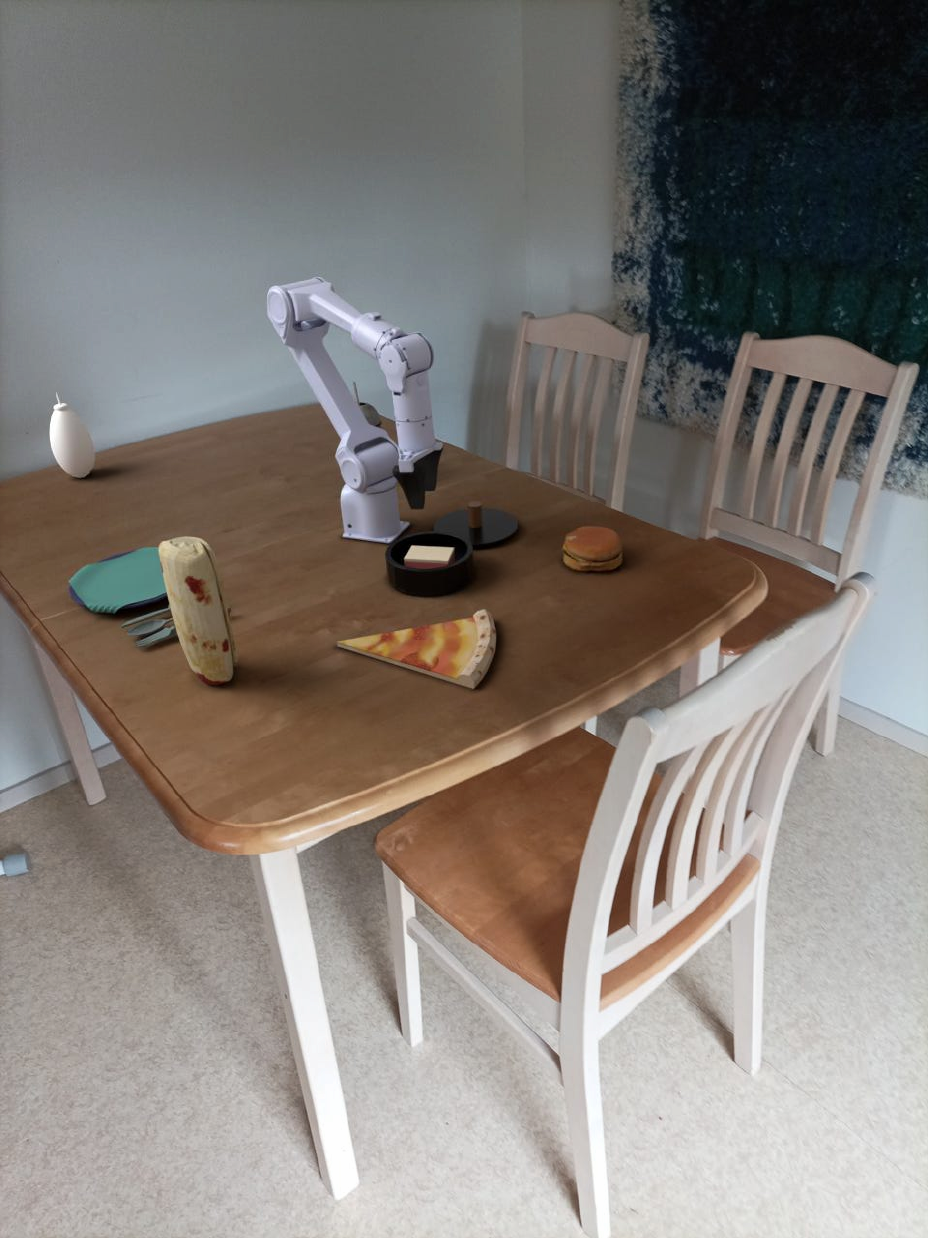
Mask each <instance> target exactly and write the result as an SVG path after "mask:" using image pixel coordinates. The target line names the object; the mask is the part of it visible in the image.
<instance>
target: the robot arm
mask: <svg viewBox="0 0 928 1238" xmlns="http://www.w3.org/2000/svg"><path fill="white" fill-rule="evenodd" d="M335 290H336V289H335V288H334V285H333V284H332V283H331V282H329V281H327V280H326V279H325V278H323V277H321V276H314V277H312V278H310V279H305V280H301V281H296V282H292V283H287V284H283V285H273V286H271V287H270V288H269V290H268V292H267V295H266V313H267V314H266V315H267V317H268V319H269V320H270V322H271V324H272V326H273V327H274V329H275V331H276V333H277V334H278V336H279V338H280V339H281V342H282V343H283V345H285V346H287V347H288V350H289V353H290V354H291V355H292V357H293V360H295V362H296V364H297V366H298V368H299V369H300V371H301V373H302V374H303V376H304V378H305V380H306V381H307V383H308V385H309V387H310V388H311V390H312V392H313V393H314V395H315V397H316V399H317V401H318V402H319V404H320V406H321V407H322V409H323V411H324V412H325V415H326V416H327V418H328V419H329V421H330V423H331V424H332V426H333V428H334V429H335V432H336V433H337V435H338V437H339V439H340V442H339V444H338V447H337V449H336V452H335V456H334V458H335V460H336V462H337V464H338V465H339V466H338V467H339V469H340V474H341V476H342V479H343V480H344V482H345V484H344V486H342V489H341V492H340V509H341V516H342V523H343V524H342V525H343V533H342V537H343V538H345V539H353V540H354V539H355V540H361V541H367V542H374V543H383V544H391V543H392V542H394V541H396V540H397V539H398V537H399V536H400V535H402V533H403V532H405V530H407V528H409V526H410V522H409V521H403V520H400V519H401V518H400V509H399V499H398V489H397V483H398V484H399V485H400V487H401V489H402V491H403V494H404V496H405V499H406V501H407V504H408V506H409V508H410V510H424V509H425V504H426V492H435V491H436V488H437V483H438V482H437V480H438V473H439V472H438V470H439V465H440V464H439V463H440V459H441V456H442V455H443V454H442V453H443V451H444V444H443V441H437V440H436V437H435V429H434V420H433V410H432V402H431V392H430V384H429V374H428V373H429V372H428V371H429V370H430V369H431V368H432V367H433V364H434V362H435V352H434V348H433V344H432V343H431V341H430V340H429V339H428V337H427V336H426V335H424V334H423V333H422V332H421V331H414V332H411V333H410V332H405V331H403V329H402V328H400V327H399V326H396V325H394V324H392V323H391V322H389V321H387V320H386V319H384V318H383V317H382V313H380V312H378V311H373V312H366V313H362V312H360V311H359V310H358V309H356V308H355V307H354V306H352V305H351V304H350V303H348V302H347V301H346V300H345V299H343V298H342V297H341V296H340V295H338V294H337V293H336V291H335ZM330 325H333V326H335V328H338V329H340V330H342V331H344V332H345V333H347V334H349V335H350V337H351V341H352V345H354V346H355V347H356V348H357V349H358V350H360V351H362V352H364V353H365V354H366V355H367V356H369V357H370V358H372V359H374V360H375V361H376V362H378V363H379V367H380V369H381V371H382V373H383V374H384V376H385V378H386V379H385V380H386V384H387V387H388V389H389V391H391V397H392V405H393V413H394V421H395V428H396V435H397V443H398V444H397V443H396V442H395V441H394V440H393V439H392V438H391V437H390V436H389V434H388V432H387V430H385V429H383V428H382V427H381V428H378V427H375V426H372V425H370V424H369V423H368V422H367V420H366V418H365V416H364V415H363V413H362V411H361V410H360V408H359V406H358V404H357V403H356V398H354V397H355V396H353V394H352V392H351V391H350V389H349V387H348V385H347V383H346V382H345V380H344V379H343V377H342V375H341V373H340V372H339V370H338V368H337V367H336V364H335V363H334V362H333V360H332V358H331V356H330V354H329V353H328V351H327V349H326V347H325V346H324V344H323V343H324V342H323V340H324V338H325V337H326V336H327V334H328V333H329V330H330Z"/></svg>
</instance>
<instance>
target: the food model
mask: <svg viewBox="0 0 928 1238" xmlns="http://www.w3.org/2000/svg"><path fill="white" fill-rule="evenodd" d="M158 547H159V548H158V551H159V557H160V563H161V568H162V572H163V577H164V582H165V587H166V591H167V595H168V597H167V599H168V603H169V605H170V607H171V611H172V613H171V616H172V617H173V623H174V627H176V631H177V634H176V635H177V637H178V640H179V643H180V646H181V648H182V651H183V653H184V655H185V658H186V660H187V663H188V666H189V667H190V669H191V671H192V672H193V673H194V675H195V676H196V677H197V678H198V679H199V680H200V681H202V682H203V683H204V684H207V685H210V686H220V685H222V684H225V683H228V682H230V681H231V680H232V677H233V676H234V675H233V674H234V667H235V666H236V664H237V663H238V660H239V659H238V651H237V644H236V639H235V634H234V629H233V623H232V619H231V613H229V608H228V606H229V603H228V599H227V595H226V592H225V587H224V582H223V579H222V573H221V568H220V565H219V562H218V559H217V556H216V554H215V552H214V550H213V548H211V546H210V544H209V543H208V542H206V540H204V539H202V538H201V537H196V536H186V535H185V536H179V537H173V538H171V539H168V540H162V541H161V542H160V543H159V545H158Z"/></svg>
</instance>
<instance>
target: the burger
mask: <svg viewBox="0 0 928 1238" xmlns="http://www.w3.org/2000/svg"><path fill="white" fill-rule="evenodd" d="M623 547H624V546H623V542H622V540H621V537H620V535H619V534H618V533H617V532H616V531H615V530H613V529H610V528H608V527H603V526H594V525H593V526H590V525H588V526H587V525H586V526H580V527H578V528H577V529H575V530H573V531H571V532H569V533H567V534H566V535H565V538H564V542H563V545H562V550H561V553H562V554H563V557H562V558H563V559H562V560H563V563H564V565H566V566H567V567H568V568H570V569H572V570H574V571H577V572H590V571H593V572H604V571H612V570H615V569H616V568H618V567H619V566H620V565H621V564H622V562H623V552H622V551H623Z"/></svg>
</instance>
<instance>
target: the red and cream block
mask: <svg viewBox="0 0 928 1238" xmlns="http://www.w3.org/2000/svg"><path fill="white" fill-rule="evenodd" d="M404 560H405V566H406V567H411V568H418V569H431V568H437V567H444V566H447V565H450V564H453V563H455V551H454V548H450V547H430V546H411V548H410V549H409V551H408V553H407V555H406V556H405V558H404Z"/></svg>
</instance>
